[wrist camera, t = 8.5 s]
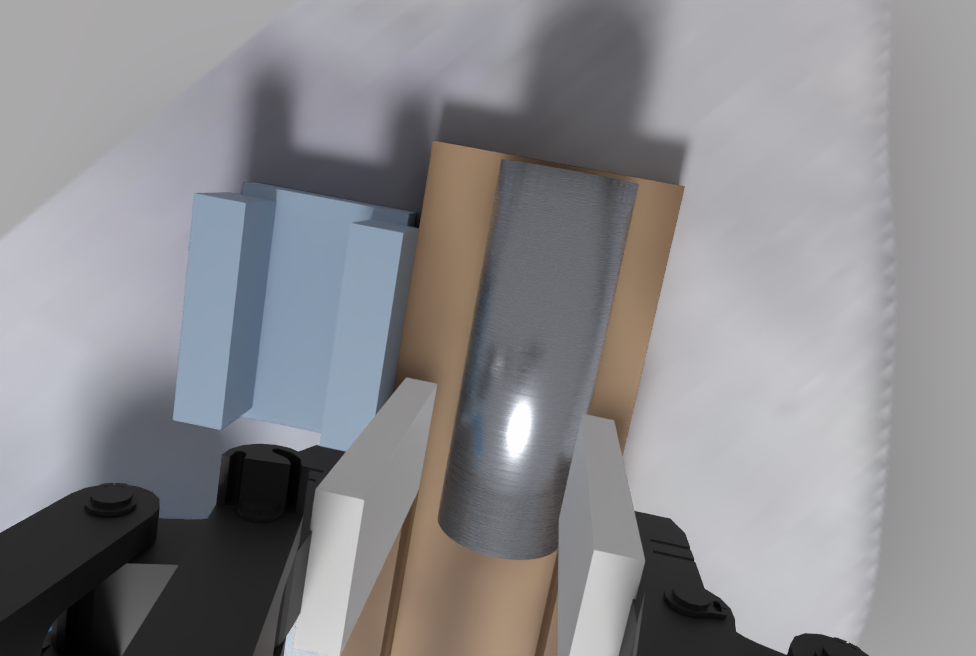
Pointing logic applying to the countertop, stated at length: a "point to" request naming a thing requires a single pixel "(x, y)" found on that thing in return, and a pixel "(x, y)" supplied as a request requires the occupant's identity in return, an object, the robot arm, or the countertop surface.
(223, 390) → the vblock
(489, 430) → the axle
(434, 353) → the wooden channel tray
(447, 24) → the countertop surface
